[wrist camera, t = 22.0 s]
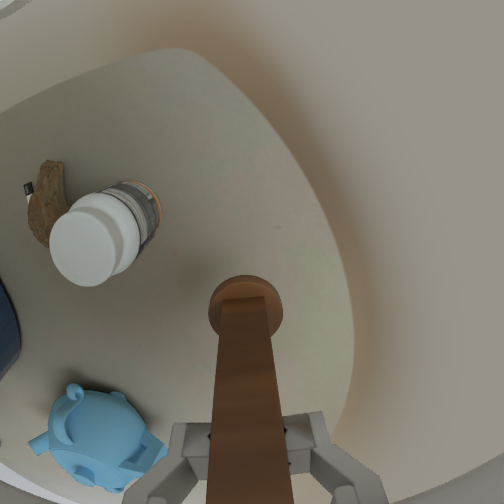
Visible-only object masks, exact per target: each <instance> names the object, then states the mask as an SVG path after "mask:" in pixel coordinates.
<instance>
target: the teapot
mask: <svg viewBox="0 0 504 504" xmlns="http://www.w3.org/2000/svg"><path fill="white" fill-rule="evenodd" d="M66 391H67V394H65V395H62V396H60V397H59V398H57V399H56V400H55V402H54V404H53V406H52V409H51V412H50V416H49V421H48V431H47V432H45V433H43V434H41V435H39V436H38V437H36V438H34V439H32V440H30V441H29V442H28V443H29V445H30V447H31V449H32V450H33V451H34V453H35V454H36V455H37V456H38V455H40V454H42V453H44V452H45V451H47V450H49V449H50V452H51V454H52V456H53V458H54V459H55V460H56V461H57V463H58V464H59V465H60V466H61V467H62V468H63V469H64V470H66V471H67V472H68V473H69V474H70V475H72V477H73V478H74V479H75V480H76V481H78V482H79V483H81V484H83V485H86V486H90V487H94V486H95V485H96V486H101V487H103V488H104V489H105V490H107V491H108V492H111V493H120V492H122V491H123V490H124V488H125V486H126V485H127V484H128V483H130V482H131V481H132V480H133V479H134V478H139V479H140V478H141V477H142V476H143V475H144V474H145V473H146V472H147V471H148V470H149V469H150V468H151V467H153V466H154V465H155V464H156V463H157V462H158V461H159V460H160V459H161V458H162V457H163V456H167V453H168V450H167V448H166V446H165V445H164V443H162V442H161V441H160V440H159V439H157V438H156V437H155V436H154V435H152V434H151V433H150V432H149V431H148V429H147V427H146V425H145V423H144V421H143V420H142V418H141V417H140V415H139V414H138V413H137V411H136V410H135V409H134V408H133V407H132V406H131V405H130V404H129V403H127V399H126V397H125V396H124V395H123V394H121V393H119V392H115V391H114V392H111V393H110V394H106V393H102V392H97V391H89V390H83V389H82V388H81V387H80V386H79V385H77V384H75V383H72V384H69V385H68V386H67V390H66Z"/></svg>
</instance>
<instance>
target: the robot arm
mask: <svg viewBox="0 0 504 504" xmlns="http://www.w3.org/2000/svg"><path fill="white" fill-rule="evenodd" d="M282 421H283V428H284V435H285V442H286V449H287V456H288V463H289V471H290V475H292V474H300V473H308V472H310V474H311V475H312V476H313V477H314V478H315V479H316V480H317V481H318V482H320V484H321V485H322V486H323V487H324V488H325V489H326V490H327V491H328V492H330V493H331V494H332V495H333V497H332V501H331V504H389V503H388V500H387V497H386V494H385V491H384V488H383V485H382V482H381V479H380V477H379V475H377V474H376V473H374V472H373V471H371V470H370V469H369V468H367V467H366V466H364V465H363V464H362V463H360V462H359V461H357V460H356V459H354V458H353V457H352V456H350V455H349V454H348V453H347V452H345V451H344V450H342V449H341V448H340V447H339V446H337V445H336V444H332V445H331V442H330V438H329V434H328V431H327V427H326V423H325V420H324V416H323V413H322V411H317V412H311V413H303V414H297V415H290V416H283V417H282ZM210 435H211V423H174V425H173V427H172V432H171V437H170V443H169V448H168V453H167V456H163V457H162V458H161V459H160V460H159V461H158V462H157V463H156V464H155V465H154V466H153V467H151V468H150V469H149V470H148V471H147V472H146V473H145V474H144V475H143V476H142V477H141V478H140V479H139V480H137V481H136V482H135V483H134V484H133V485H132V486H131V487H130V488H129V489H127V490H126V491H125V493H124V497H123V501H122V504H181V503H182V502H183V501H184V499H185V498H186V497H187V495H188V494H189V493H190V492H191V490H192V489H193V488H194V486H195V485H196V484H197V483H198V480H207V477H208V462H209V449H210ZM0 504H58V503H55V502H53V501H50V500H47V499H44V498H41V497H39V496H36V495H33V494H31V493H28V492H26V491H23V490H21V489H19V488H16V487H14V486H12V485H10V484H7V483H5V482H3V481H1V480H0ZM391 504H504V452H503V453H501V454H500V455H498V456H496V457H495V458H493V459H491V460H489V461H488V462H486V463H484V464H482V465H480V466H479V467H477V468H475V469H473V470H471V471H469V472H467V473H465V474H463V475H461V476H459V477H457V478H455V479H453V480H450V481H448V482H446V483H444V484H442V485H439V486H437V487H435V488H432V489H430V490H427V491H425V492H422V493H420V494H417V495H415V496H412V497H409V498H406V499H403V500H401V501H397V502H394V503H391Z"/></svg>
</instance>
